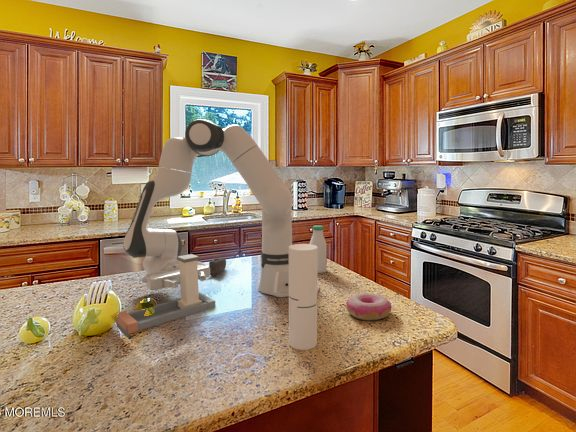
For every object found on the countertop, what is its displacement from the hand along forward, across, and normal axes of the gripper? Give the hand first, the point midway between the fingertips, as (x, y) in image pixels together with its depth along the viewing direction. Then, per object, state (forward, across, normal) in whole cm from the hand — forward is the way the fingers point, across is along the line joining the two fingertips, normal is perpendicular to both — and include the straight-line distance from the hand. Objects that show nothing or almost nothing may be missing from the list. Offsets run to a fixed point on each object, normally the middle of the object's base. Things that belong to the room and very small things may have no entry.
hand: (190, 281), depth 104 cm
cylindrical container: (+37, +12, +10) cm, 40 cm away
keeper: (-1, 0, +8) cm, 9 cm away
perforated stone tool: (-30, +28, +10) cm, 42 cm away
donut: (+38, +39, +10) cm, 56 cm away
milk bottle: (-3, +62, +10) cm, 62 cm away
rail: (-1, -7, +10) cm, 12 cm away
